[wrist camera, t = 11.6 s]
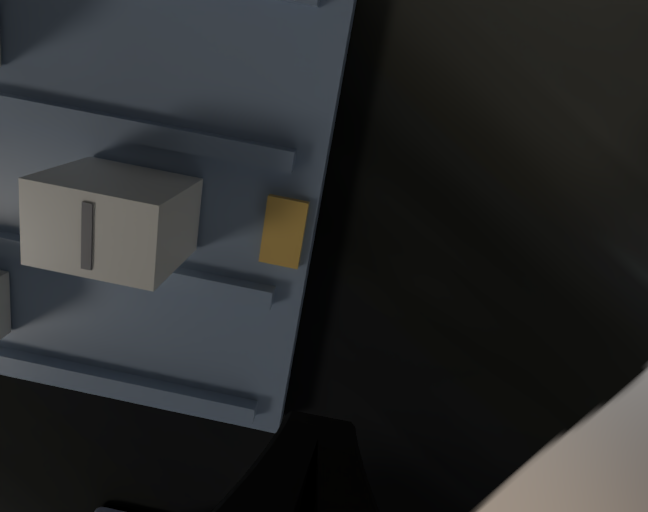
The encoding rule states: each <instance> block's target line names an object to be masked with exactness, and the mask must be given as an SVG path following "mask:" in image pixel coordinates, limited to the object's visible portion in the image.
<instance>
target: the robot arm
mask: <svg viewBox="0 0 648 512" xmlns="http://www.w3.org/2000/svg"><path fill="white" fill-rule="evenodd" d="M94 512H125V511H120V510H116V509H111V508H107V507H99V508H97V509H96V510H95V511H94ZM211 512H379V510H378V508H377V505H376V502H375V499H374V496H373V494H372V491H371V488H370V485H369V482H368V479H367V476H366V473H365V469H364V466H363V462H362V459H361V455H360V451H359V447H358V443H357V437H356V430H355V427H354V426H353V424H352V423H351V422H348V421H343V420H338V419H333V418H328V417H323V416H318V415H313V414H307V413H302V412H297V411H291V412H289V413H287V414H286V415H285V418H284V420H283V422H282V423H281V425H280V427H279V429H278V430H277V432H276V433H275V435H274V436H273V438H272V439H271V441H270V442H269V444H268V445H267V447H266V448H265V449H264V451H263V452H262V453H261V455H260V456H259V457H258V459H257V460H256V461H255V462H254V464H253V465H252V466H251V467H250V469H249V470H248V471H247V472H246V474H245V475H244V476H243V477H242V479H241V480H240V481H239V482H238V483H237V484H236V485H235V486H234V487H233V489H232V490H231V491H230V492H229V493H228V494H227V495H226V496H225V497H224V498H223V500H222V501H221V502H220V503H219V504H218V505H217V506H216V507H215V508H214V509H213V510H212V511H211Z"/></svg>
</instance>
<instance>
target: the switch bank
mask: <svg viewBox="0 0 648 512" xmlns="http://www.w3.org/2000/svg"><path fill="white" fill-rule="evenodd" d="M356 1H357V0H0V44H1V67H0V270H3V271H8V272H9V282H10V309H11V333H9V334H8V335H6V336H5V337H3V338H2V339H1V340H0V374H1V375H5V376H10V377H15V378H19V379H24V380H29V381H33V382H38V383H43V384H47V385H52V386H57V387H62V388H66V389H71V390H76V391H80V392H85V393H90V394H94V395H99V396H104V397H108V398H113V399H118V400H122V401H127V402H132V403H136V404H141V405H146V406H150V407H155V408H160V409H165V410H169V411H174V412H179V413H183V414H188V415H193V416H197V417H202V418H207V419H211V420H216V421H221V422H225V423H230V424H235V425H239V426H244V427H249V428H253V429H258V430H263V431H267V432H272V433H276V432H277V430H278V429H279V427H280V424H281V421H282V417H283V413H284V407H285V402H286V396H287V390H288V385H289V379H290V373H291V368H292V362H293V356H294V351H295V345H296V340H297V334H298V328H299V323H300V317H301V311H302V306H303V300H304V294H305V289H306V283H307V278H308V272H309V266H310V261H311V255H312V249H313V244H314V238H315V232H316V227H317V221H318V216H319V210H320V204H321V199H322V193H323V187H324V182H325V176H326V170H327V165H328V159H329V154H330V148H331V142H332V137H333V131H334V125H335V120H336V114H337V108H338V103H339V97H340V92H341V86H342V80H343V75H344V69H345V63H346V58H347V52H348V46H349V41H350V35H351V30H352V24H353V18H354V13H355V7H356ZM89 156H91V157H96V158H101V159H106V160H111V161H116V162H121V163H126V164H132V165H137V166H142V167H147V168H152V169H157V170H162V171H167V172H172V173H177V174H182V175H187V176H193V177H198V178H203V186H202V197H201V207H200V217H199V228H198V238H197V249H196V250H195V251H194V252H193V253H192V254H191V255H190V256H189V257H188V258H187V259H186V260H185V261H184V262H183V263H182V264H181V265H180V266H179V267H178V268H177V269H176V270H175V271H174V272H173V273H172V274H171V275H170V276H169V277H168V278H167V279H166V280H165V281H164V282H163V283H162V284H161V285H160V286H159V287H158V288H157V289H156V290H155V291H154V292H152V291H148V290H143V289H138V288H133V287H128V286H123V285H118V284H113V283H109V282H104V281H99V280H94V279H89V278H84V277H79V276H75V275H70V274H65V273H60V272H55V271H50V270H45V269H40V268H36V267H31V266H26V265H21V252H20V218H19V184H18V178H19V177H23V176H26V175H29V174H33V173H36V172H39V171H43V170H46V169H49V168H53V167H56V166H59V165H63V164H66V163H69V162H72V161H76V160H79V159H82V158H86V157H89Z"/></svg>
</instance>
